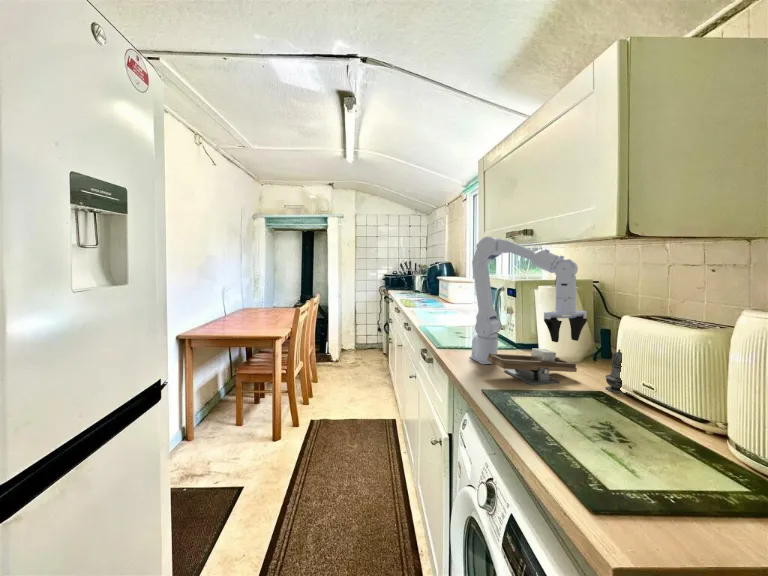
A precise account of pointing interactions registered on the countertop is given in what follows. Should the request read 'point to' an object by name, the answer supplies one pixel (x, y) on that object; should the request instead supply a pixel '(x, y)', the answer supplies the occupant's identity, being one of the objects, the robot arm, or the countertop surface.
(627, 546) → the countertop surface
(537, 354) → the white block
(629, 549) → the countertop surface
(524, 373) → the fulcrum stand
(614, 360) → the dark grey chess piece
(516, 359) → the brown wooden tray
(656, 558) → the countertop surface
